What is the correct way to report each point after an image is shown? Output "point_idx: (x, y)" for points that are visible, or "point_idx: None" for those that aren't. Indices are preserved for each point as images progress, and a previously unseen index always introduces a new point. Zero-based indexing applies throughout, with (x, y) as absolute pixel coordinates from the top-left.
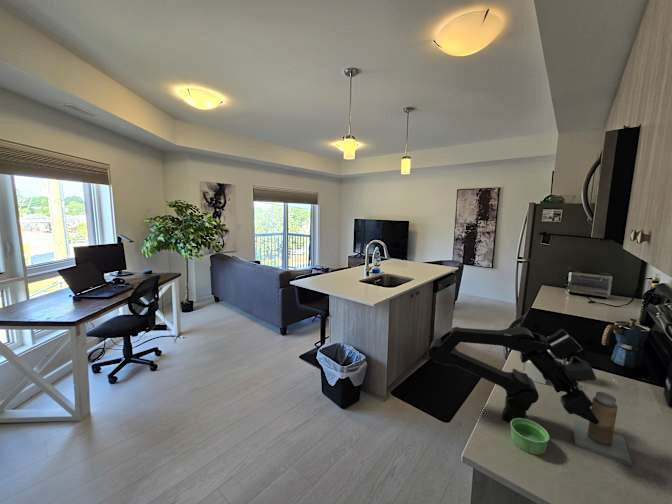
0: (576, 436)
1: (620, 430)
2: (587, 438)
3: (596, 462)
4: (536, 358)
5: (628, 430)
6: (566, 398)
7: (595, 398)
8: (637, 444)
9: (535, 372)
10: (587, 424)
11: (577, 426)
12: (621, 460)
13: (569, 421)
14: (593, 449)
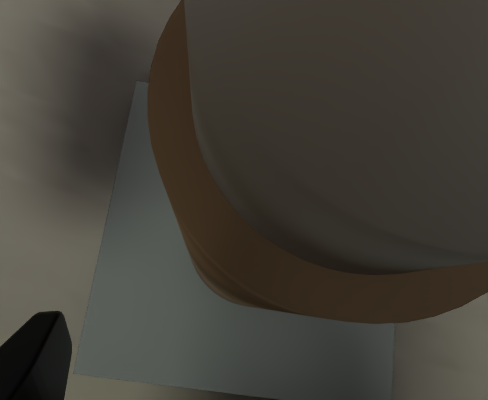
0: (322, 393)
1: (35, 72)
2: (301, 318)
3: (480, 308)
4: None
5: (11, 27)
6: None
7: (384, 270)
8: (151, 32)
9: None
10: (102, 275)
11: (175, 359)
12: None
13: (85, 392)
14: None
